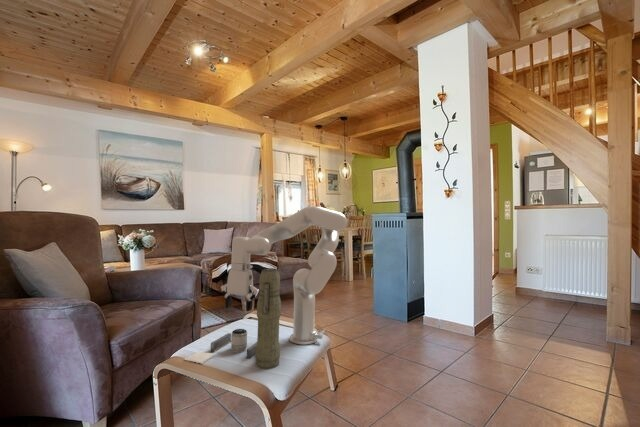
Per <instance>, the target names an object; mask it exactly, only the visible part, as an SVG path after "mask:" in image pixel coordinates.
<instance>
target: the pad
mask: <svg viewBox="0 0 640 427" xmlns="http://www.w3.org/2000/svg"><path fill="white" fill-rule="evenodd" d="M215 356H216V353H213V352H206V351H200V350H198V351H196V352H194V353H193V354H190V355H189V356H188V357H186V358H184V360H189V361H193V362H196V363H195V364H198V363H200V364H199V365H203V364H205V363H206V362H208V361H209V360H211V359H212V358H214V357H215ZM193 362H192V363H193Z"/></svg>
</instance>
